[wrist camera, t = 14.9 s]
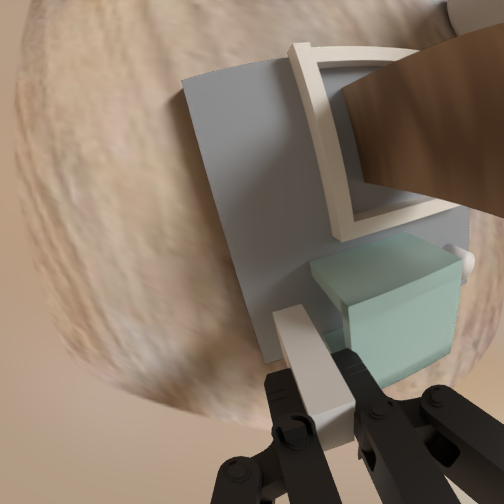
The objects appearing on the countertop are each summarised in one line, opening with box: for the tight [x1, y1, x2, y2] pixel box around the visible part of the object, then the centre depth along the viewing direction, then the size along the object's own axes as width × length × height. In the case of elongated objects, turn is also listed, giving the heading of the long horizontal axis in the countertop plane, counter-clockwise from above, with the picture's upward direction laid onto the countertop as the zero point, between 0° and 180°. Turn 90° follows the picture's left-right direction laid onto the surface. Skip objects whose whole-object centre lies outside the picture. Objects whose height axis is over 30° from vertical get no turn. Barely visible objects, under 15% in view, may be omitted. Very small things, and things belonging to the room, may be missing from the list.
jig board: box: [181, 42, 475, 364], centre depth 13 cm, size 16×16×3 cm
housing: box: [309, 232, 463, 389], centre depth 13 cm, size 6×6×5 cm
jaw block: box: [341, 23, 504, 218], centre depth 8 cm, size 5×5×10 cm
